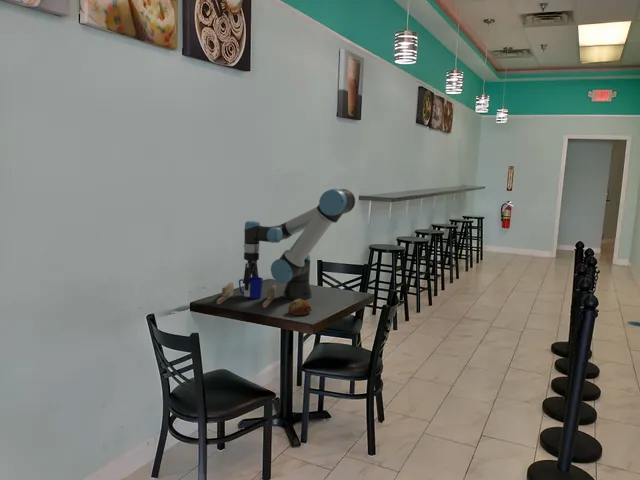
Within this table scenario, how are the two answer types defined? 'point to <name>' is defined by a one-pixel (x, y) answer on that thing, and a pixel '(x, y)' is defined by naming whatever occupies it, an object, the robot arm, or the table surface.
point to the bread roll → (299, 307)
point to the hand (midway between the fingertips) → (250, 293)
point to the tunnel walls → (228, 291)
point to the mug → (254, 287)
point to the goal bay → (223, 300)
